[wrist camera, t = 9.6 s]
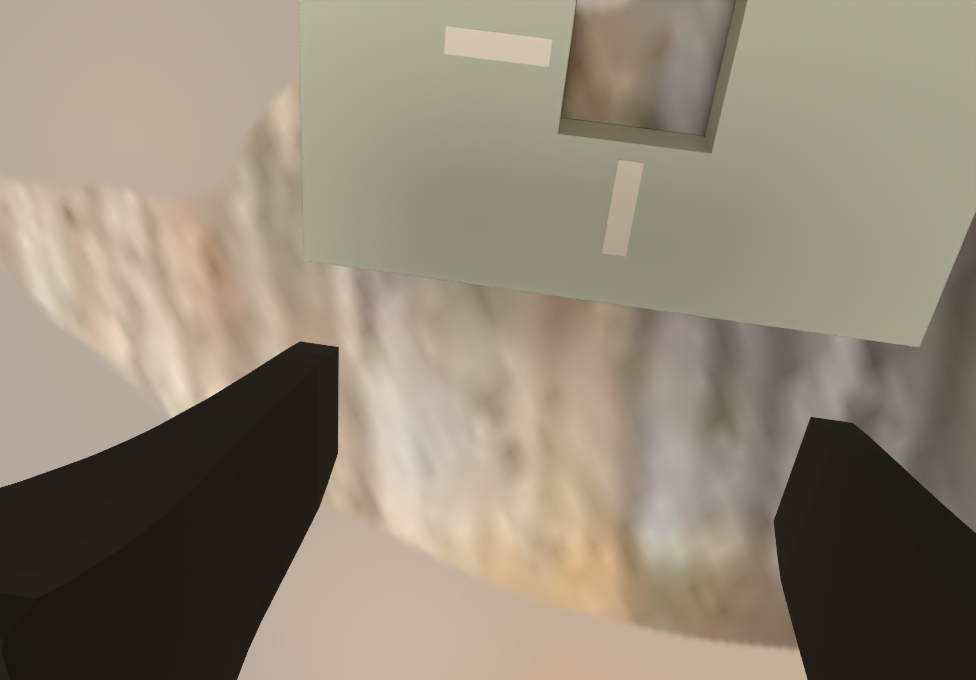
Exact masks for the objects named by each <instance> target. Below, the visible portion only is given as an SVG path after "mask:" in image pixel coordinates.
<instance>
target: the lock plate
mask: <svg viewBox="0 0 976 680" xmlns="http://www.w3.org/2000/svg"><path fill="white" fill-rule="evenodd" d="M576 4H577V0H299V30H300V31H299V32H300V87H301V142H302V197H303V252H304V261H311V262H318V263H325V264H332V265H339V266H346V267H353V268H360V269H368V270H375V271H382V272H389V273H396V274H403V275H410V276H417V277H424V278H431V279H438V280H446V281H453V282H460V283H467V284H474V285H481V286H488V287H495V288H502V289H509V290H516V291H524V292H531V293H538V294H545V295H552V296H559V297H566V298H573V299H580V300H587V301H595V302H602V303H609V304H616V305H623V306H630V307H637V308H644V309H651V310H658V311H665V312H673V313H680V314H687V315H694V316H701V317H708V318H715V319H722V320H729V321H736V322H743V323H751V324H758V325H765V326H772V327H779V328H786V329H793V330H800V331H807V332H814V333H821V334H829V335H836V336H843V337H850V338H857V339H864V340H871V341H878V342H885V343H892V344H899V345H907V346H914V347H920V344H921V342H922V340H923V337H924V335H925V332H926V330H927V328H928V325H929V323H930V320H931V318H932V316H933V313H934V311H935V308H936V306H937V303H938V301H939V299H940V296H941V294H942V291H943V289H944V287H945V284H946V282H947V279H948V277H949V274H950V272H951V270H952V267H953V265H954V262H955V260H956V258H957V255H958V253H959V250H960V248H961V245H962V243H963V241H964V238H965V236H966V233H967V231H968V229H969V226H970V224H971V221H972V219H973V216H974V214H975V212H976V0H736V2H735V6H734V11H733V15H732V20H731V24H730V28H729V33H728V37H727V41H726V46H725V50H724V54H723V59H722V63H721V68H720V72H719V76H718V81H717V85H716V89H715V94H714V98H713V103H712V107H711V111H710V116H709V120H708V124H707V129H706V133H705V136H698V135H690V134H682V133H675V132H667V131H659V130H651V129H643V128H635V127H628V126H620V125H612V124H604V123H596V122H589V121H581V120H573V119H565V118H561V112H562V105H563V98H564V91H565V83H566V76H567V69H568V62H569V55H570V47H571V40H572V33H573V26H574V19H575V12H576Z"/></svg>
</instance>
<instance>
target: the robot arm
mask: <svg viewBox="0 0 976 680" xmlns="http://www.w3.org/2000/svg"><path fill="white" fill-rule="evenodd" d="M338 359H339V347H334V346H327V345H320V344H314V343H307V342H299V343H297V344H295V345H293V346H291V347H290V348H288V349H287V350H285V351H283V352H282V353H280V354H279V355H277V356H275V357H274V358H272V359H271V360H269V361H268V362H266V363H264V364H263V365H261V366H260V367H258V368H257V369H255V370H253V371H252V372H250V373H249V374H247V375H246V376H244V377H242V378H241V379H239V380H237V381H236V382H234V383H233V384H231V385H229V386H228V387H226V388H224V389H223V390H221V391H220V392H218V393H216V394H215V395H213V396H211V397H210V398H208V399H206V400H204V401H202V402H201V403H199V404H197V405H195V406H193V407H191V408H190V409H188V410H186V411H184V412H182V413H180V414H179V415H177V416H175V417H173V418H171V419H170V420H168V421H166V422H164V423H162V424H160V425H159V426H157V427H155V428H153V429H151V430H149V431H146V432H144V433H143V434H140V435H138V436H136V437H134V438H132V439H130V440H128V441H125V442H123V443H120V444H118V445H116V446H114V447H111V448H109V449H107V450H104V451H102V452H100V453H97V454H95V455H93V456H90V457H88V458H85V459H83V460H80V461H77V462H74V463H71V464H68V465H66V466H63V467H60V468H57V469H54V470H52V471H49V472H46V473H43V474H40V475H37V476H35V477H32V478H29V479H26V480H23V481H21V482H17V483H14V484H11V485H8V486H4V487H1V488H0V680H237V678H238V676H239V673H240V670H241V668H242V665H243V663H244V660H245V657H246V655H247V652H248V649H249V647H250V645H251V643H252V641H253V638H254V636H255V634H256V632H257V630H258V628H259V625H260V623H261V621H262V619H263V617H264V615H265V613H266V611H267V609H268V608H269V606H270V604H271V602H272V600H273V598H274V596H275V594H276V592H277V590H278V588H279V586H280V584H281V582H282V580H283V578H284V576H285V574H286V572H287V570H288V568H289V566H290V564H291V562H292V560H293V559H294V557H295V555H296V553H297V551H298V549H299V547H300V545H301V543H302V541H303V539H304V536H305V535H306V533H307V531H308V528H309V527H310V525H311V523H312V521H313V518H314V517H315V515H316V513H317V511H318V509H319V507H320V504H321V501H322V498H323V495H324V493H325V490H326V487H327V484H328V481H329V478H330V475H331V472H332V469H333V466H334V463H335V460H336V457H337V454H338ZM774 528H775V538H776V547H777V556H778V563H779V570H780V577H781V583H782V587H783V591H784V595H785V599H786V602H787V606H788V610H789V614H790V617H791V621H792V625H793V629H794V632H795V636H796V639H797V643H798V647H799V650H800V654H801V657H802V661H803V665H804V668H805V672H806V675H807V679H808V680H976V533H975V532H974V531H973V530H971V529H970V528H969V527H968V526H967V525H966V524H965V523H963V522H962V521H961V520H960V519H959V518H958V517H956V516H955V515H954V514H953V513H952V512H951V511H950V510H949V509H947V508H946V507H945V506H944V505H943V504H942V503H941V502H940V501H939V500H937V499H936V498H935V497H934V496H933V495H932V494H931V493H930V492H929V491H928V490H926V489H925V488H924V487H923V486H922V485H921V484H920V483H919V482H918V481H917V480H916V479H915V478H913V477H912V476H911V475H910V474H909V473H908V472H907V471H906V470H905V469H904V468H903V467H902V466H901V465H900V464H898V463H897V462H896V461H895V460H894V459H893V458H892V457H891V456H890V455H889V454H888V453H887V452H886V451H884V450H883V449H882V448H881V447H880V446H879V445H878V444H877V443H876V442H875V441H873V440H872V439H871V438H870V437H869V436H868V435H867V434H865V433H864V432H863V431H862V430H861V429H859V428H858V427H857V426H856V425H854V424H853V423H848V422H842V421H835V420H828V419H821V418H815V417H811V418H810V421H809V423H808V426H807V429H806V432H805V435H804V437H803V440H802V443H801V446H800V449H799V452H798V454H797V457H796V460H795V463H794V466H793V468H792V471H791V474H790V477H789V480H788V482H787V485H786V488H785V491H784V494H783V496H782V499H781V502H780V505H779V508H778V510H777V513H776V516H775V519H774Z"/></svg>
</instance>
